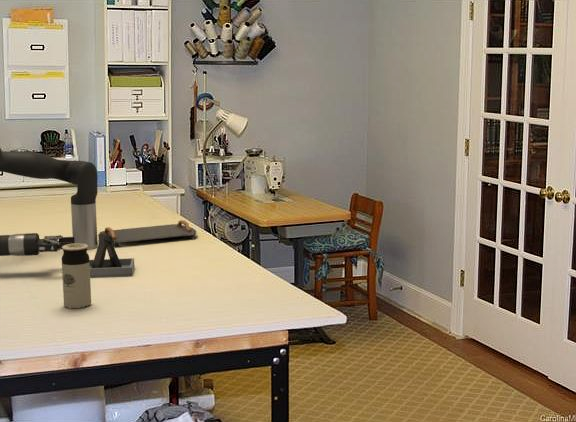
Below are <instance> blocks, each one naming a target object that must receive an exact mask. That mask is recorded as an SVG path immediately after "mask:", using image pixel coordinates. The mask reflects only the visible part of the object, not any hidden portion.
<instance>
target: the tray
mask: <svg viewBox="0 0 576 422" xmlns="http://www.w3.org/2000/svg"><path fill="white" fill-rule="evenodd" d="M93 261H94V259H89V264H90V279H92V278H116V277H133V275H134V270H135V258H133V257H132V258H130V257H129V258H119V261H120V263H121V266H122V267H114V268H92V264H93ZM109 265H111V261H110V258H105V259H104V264H103V266H109Z"/></svg>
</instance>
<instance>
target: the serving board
mask: <svg viewBox="0 0 576 422" xmlns="http://www.w3.org/2000/svg"><path fill="white" fill-rule="evenodd" d="M101 233H102V234H104V233H105V234H107V235H109V236H111V237H112V238H113V246H114V248H119V247H120V243H131V242H138V241H149V240H158V239H167V238H176V237H187V236H188V239H189V240H194V239H195V238H196V237H195V235H197V230H195V228H193V227H191V226H190V225H189V223H188V222H187V221H186V220H183V219H181V220H178V223H175V224H174V223H173V224H172V223H171V224H162V225H152V226H141V227H140V226H139V227H131V228H130V227H129V228H123V229H122V228H121V229H113V228H111V227H109V226H108V227H107V226H106V227H105V228H104V230H102V231H99V232H98V233H97V237H99V235H100V234H101ZM105 234H104V235H105ZM105 240H106V239H105Z"/></svg>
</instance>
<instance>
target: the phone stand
mask: <svg viewBox="0 0 576 422" xmlns="http://www.w3.org/2000/svg"><path fill="white" fill-rule="evenodd" d="M104 234H105V233H104ZM104 234H102V233H101V234H100V235H99V236H98V247H97V248H96V251H95V255H94V257H93V260H94V261H93V264H92V268H114V267H122V266H121V263H120V261H119V259H120V258H119V256H118V254H117V251H116V248H115V247H114V243H113V238H112V237H111V236H109V235H107V234H105V235H104ZM105 239H106V240H105ZM106 252H107V254H108V257H109V258H108V259H110V261H111V265H109V266H103V264H104V259H106Z"/></svg>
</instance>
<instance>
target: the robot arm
mask: <svg viewBox="0 0 576 422" xmlns="http://www.w3.org/2000/svg"><path fill="white" fill-rule="evenodd" d="M0 172H2V173H7V174H11V175H15V176H20V177H25V178H31V179H36V180H38V179H39V180H49V179H50V180H51V179H53V180H59V181H63V182H66V183H67V184H71V185H76V186H77V187H76V188H77V190H76V193H74V194H73V195H71V196H70V210H71V211H70V212H71V233H72V236H63V235H61V234H60V235H44V236H43V237H44V238H40V235H39V233H36V232H32V233H31V232H30V233H28V232H27V233H15V234H1V235H0V257H5V256H6V257H10V256H11V257H26V256H27V257H28V256H31V257H32V256H39V255H40V253H51V252H54V253H56V252H58V251H61V250H63V249H62V246H64V245H68V244H86V245H88V247H87V250H93V249H97V248H98V244H99V240H98V222H97V203H96V202H97V201H96V199H97V197H98V196H97V195H98V184H99V183H98V179H99V178H98V170H97V167H96V165H95V164H94V163H93V162H91V161H84V160H67V159H66V160H65V159H57V158H54V157H52V156H50V155H48V154H44V153H40V152H35V151H28V150H14V151H13V150H12V151H11V150H10V151H9V150H7V151H6V150H2V148H1V147H0Z"/></svg>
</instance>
